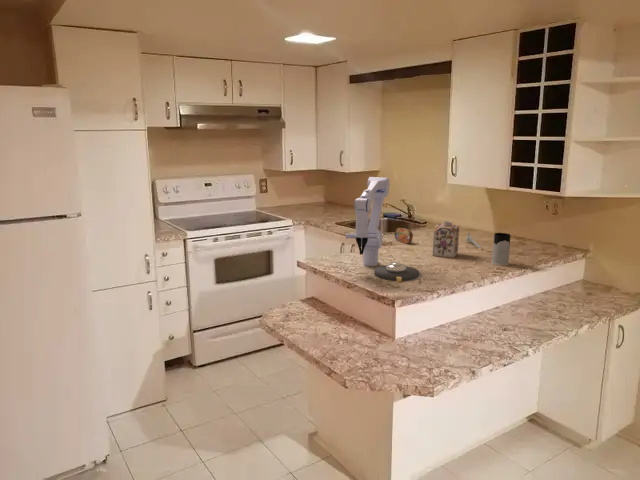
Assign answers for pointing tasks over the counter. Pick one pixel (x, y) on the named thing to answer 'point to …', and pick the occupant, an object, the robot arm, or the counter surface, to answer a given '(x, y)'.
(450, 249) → the decorative jar
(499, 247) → the glass holder
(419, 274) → the base
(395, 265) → the cover
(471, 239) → the caliper
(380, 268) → the turntable
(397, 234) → the tin
